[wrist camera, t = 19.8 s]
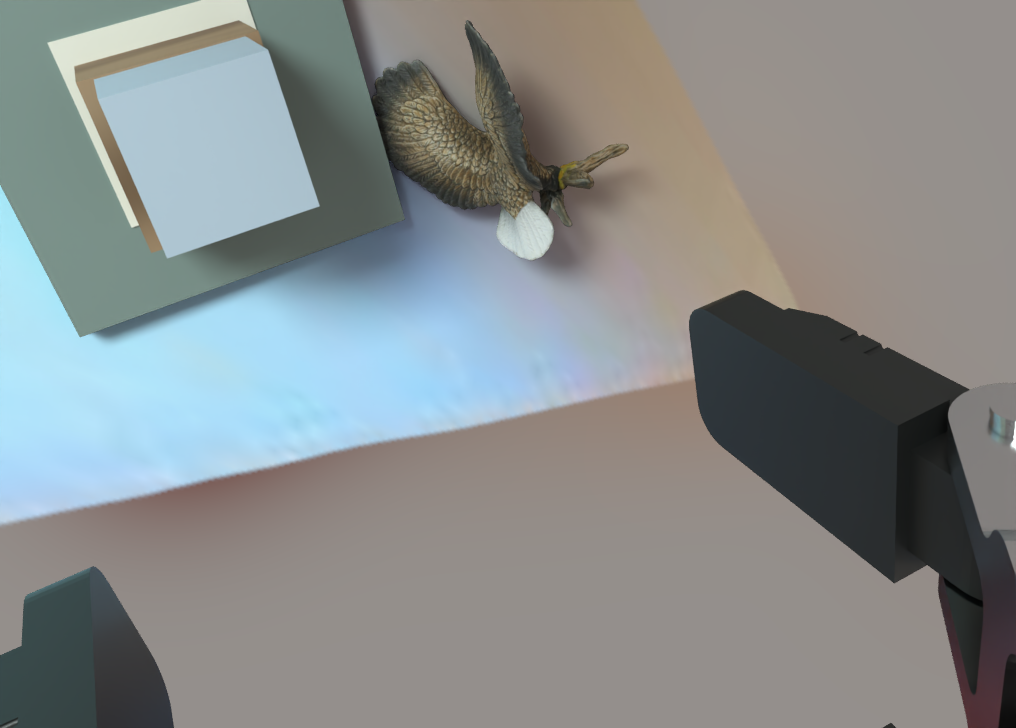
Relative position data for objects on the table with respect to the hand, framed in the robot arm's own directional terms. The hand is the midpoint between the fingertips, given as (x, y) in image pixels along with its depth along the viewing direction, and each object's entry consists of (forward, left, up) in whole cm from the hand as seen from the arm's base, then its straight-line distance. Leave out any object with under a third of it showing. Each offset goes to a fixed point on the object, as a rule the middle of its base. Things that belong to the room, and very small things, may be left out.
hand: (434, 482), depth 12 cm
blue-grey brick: (0, 0, -23) cm, 23 cm away
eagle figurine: (+5, +11, -29) cm, 31 cm away
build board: (0, 0, -29) cm, 29 cm away
